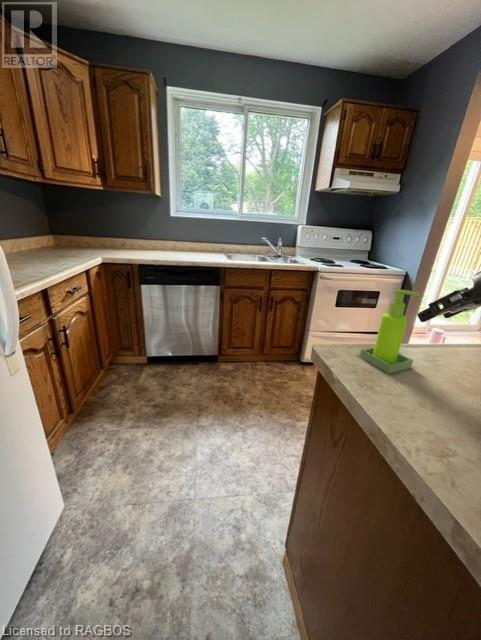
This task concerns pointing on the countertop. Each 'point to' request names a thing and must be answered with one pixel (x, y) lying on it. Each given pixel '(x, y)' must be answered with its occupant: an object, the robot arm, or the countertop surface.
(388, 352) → the soap dispenser
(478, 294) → the robot arm
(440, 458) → the countertop surface
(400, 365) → the green tray
